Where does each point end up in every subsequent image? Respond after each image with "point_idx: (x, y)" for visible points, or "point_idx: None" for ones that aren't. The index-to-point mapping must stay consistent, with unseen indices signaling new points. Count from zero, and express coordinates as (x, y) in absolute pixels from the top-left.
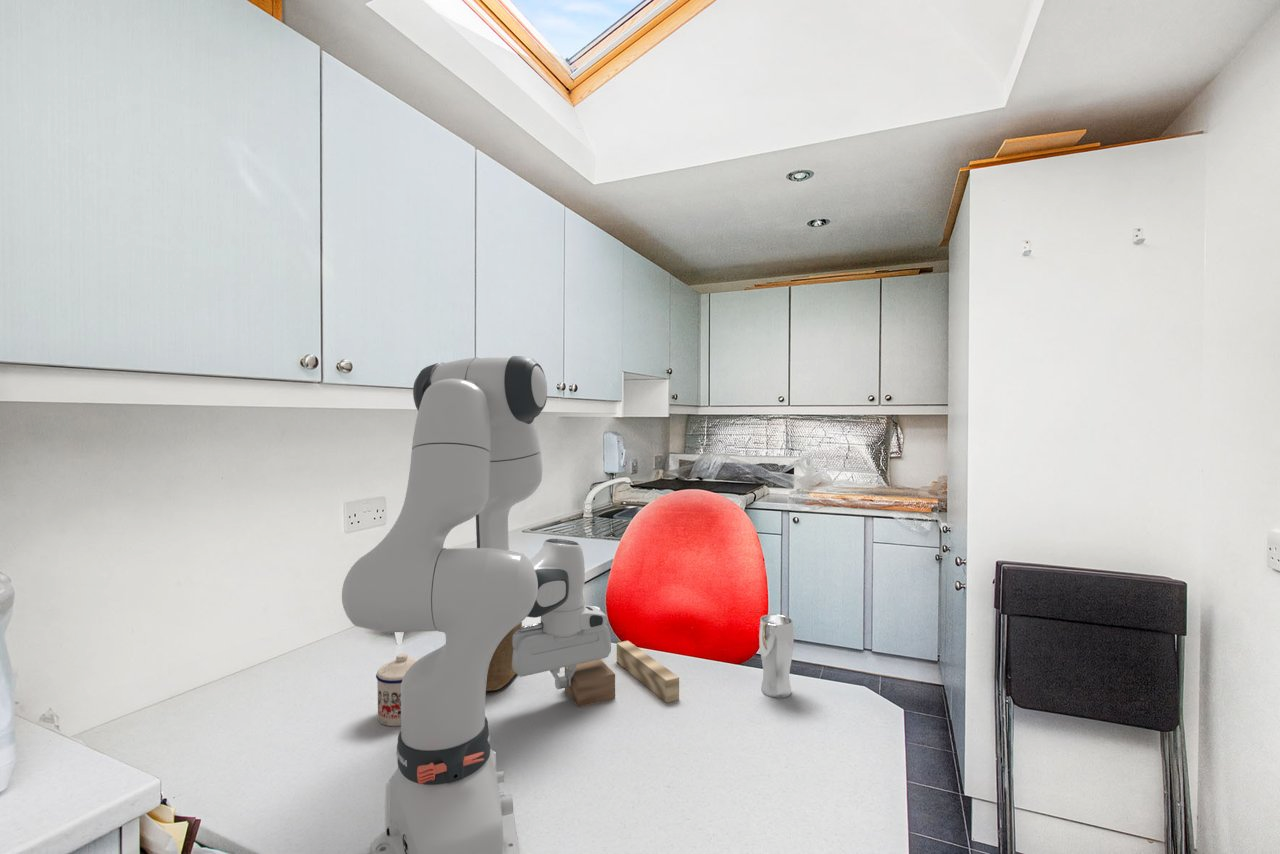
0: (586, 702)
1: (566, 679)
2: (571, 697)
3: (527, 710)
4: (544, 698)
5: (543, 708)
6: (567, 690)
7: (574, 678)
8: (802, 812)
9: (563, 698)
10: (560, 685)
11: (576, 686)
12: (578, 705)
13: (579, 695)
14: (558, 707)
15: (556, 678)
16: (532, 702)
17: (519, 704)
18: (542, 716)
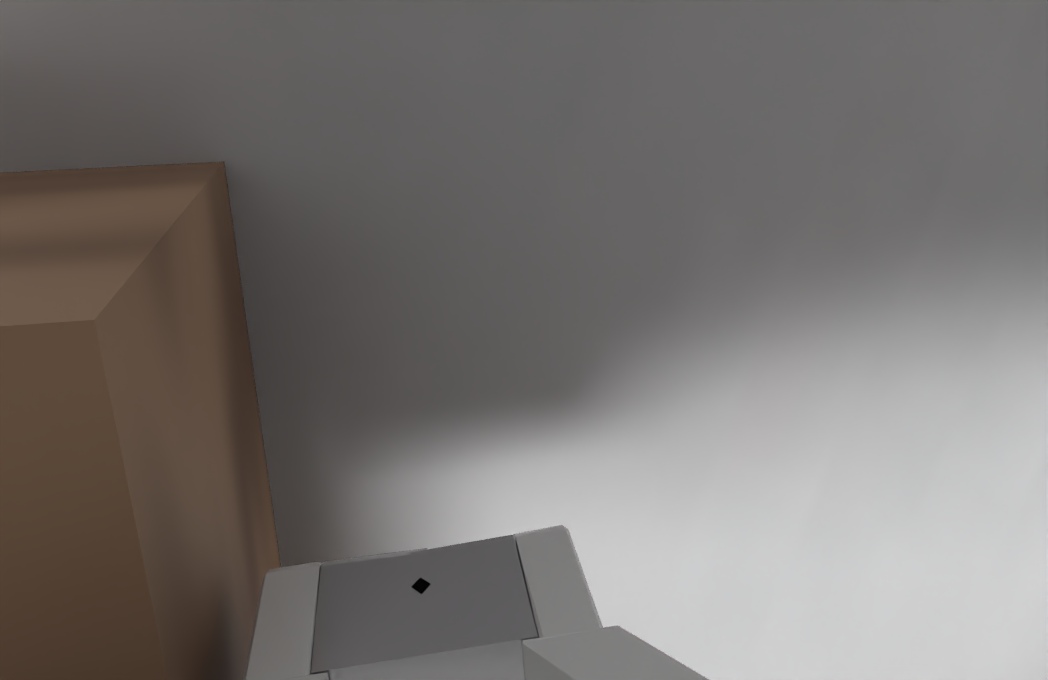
0: (31, 176)
1: (373, 664)
2: (266, 488)
3: (986, 369)
4: (655, 605)
5: (770, 340)
6: None
7: (156, 602)
8: None
9: (392, 522)
10: (523, 569)
11: (164, 376)
12: (211, 167)
13: (146, 216)
14: (551, 282)
15: (683, 671)
16: (840, 554)
17: (1004, 557)
18: (877, 102)
